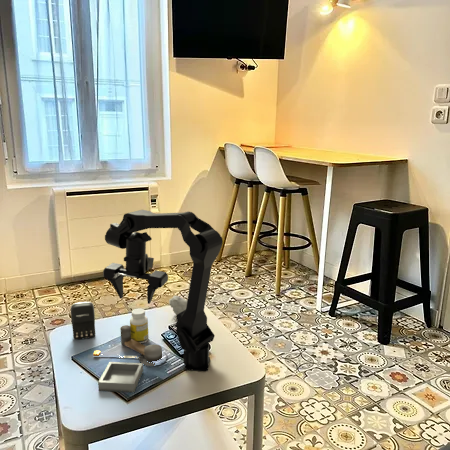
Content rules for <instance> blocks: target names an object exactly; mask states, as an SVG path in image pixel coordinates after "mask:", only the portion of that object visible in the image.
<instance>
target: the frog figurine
mask: <svg viewBox="0 0 450 450" xmlns="http://www.w3.org/2000/svg"><path fill="white" fill-rule="evenodd" d="M187 300H188V299H186V298H183V297H181V296H179V295H173V296H172V298H170V299H168V302H169V306H170V307H171V308H172V311H173V313H174V314H175V315H176V316H177V314H179V313H180V312H182V311H184V310H186V306H187Z"/></svg>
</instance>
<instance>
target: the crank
mask: <svg viewBox="0 0 450 450" xmlns="http://www.w3.org/2000/svg"><path fill="white" fill-rule="evenodd" d="M119 329H120V344H121V345H122V346H126V347H128V348H129V349H131V350H133V351H135V352H137V353H139V354H140V355H142V354H143V355H144V358H145V359H146V360H147V361H157V360H159V359H161V358H162V351H163V348H162V346H161V345H160V344H155V343H154V344H149V345H145V344H144V343H142V344H141V343H139V342H137V341H135V340H133V339H131V327H130V325H125V324H124V325H122V326H120V328H119Z"/></svg>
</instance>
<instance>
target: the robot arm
mask: <svg viewBox="0 0 450 450" xmlns="http://www.w3.org/2000/svg"><path fill="white" fill-rule="evenodd" d="M147 229H177V230H179V232H180V235H181V237H182V240H183V242H184V243H185V244H186V246H188V248H189V255H190V259H191V261H192V263H193V265H192V270H191V275H190V283H189V287H188V288H189V289H188V295H187V299H186V300H187V306H186V310H184V311H182V312H180V313H179V314H177V315H176V321H175V322H176V323H175V325H174V328H176V329H175V332H176V334H177V338H178V341H179V345H180V348H181V349H182V350H183V365H184V370H185V371H197V372H208V371H209V367H210V362H211V357H210V343H212V342H213V341H214V338H215V334H214V332H213V330H212V329H211V328H210V327H209V324H208V317H207V314H206V312H205V306H206V301H207V295H208V289H209V283H210V278H211V274H212V273H211V272H212V266H213V264H214V262H215V261H216V259H217V258H218V256H219V254H220V252H221V250H222V249H221V248H222V247H223V243H224V242H223V237H222V236H221V234H220V233H219V231H217V230H216V229H214V227H212V226H211V224H209V223H208V222H206V221H204V220H202V219H201V218H199V217H198V216H197V215H196V214H195V213H194V212H192V211H189V210H188V211H185V212H163V213H157V212H152V211H151V210H145V209H139V210H134V211H131V212H126V213H124V214H123V217H122V220H121V221H120V223H118V222H113V223H110V224H109V228H108V229H107V230H106V232H105V234H104V240H105V242H106V243H107V244H108V245H109V246H110V245H111V246H113V247H115V248H118V249H121V250H124V249H125V256H124V257H123V262H125V266H124V265H123V264H122V263H115V262H112V263H110V264H109V265H107V266H105V267H104V269H103V270H102V278H104V279H106V280H107V281H108V282H109V283H110V284H111V285H112V287H113V288H114V290H115V292H116V293H117V295H118V297H119V298H120V299H123V298H124V277H130V278H134V279H140V280H146V281H147V284H148V285H147V287H146V290H147V291H146V293H147V294H146V297H147V299H146V300H147V304H148V305H150V304H151V302H152V300H153V298H154V294H155V292H156V291H157V290H158V289H159V288H162V287H163V286H164V285H165V284H166V283H168V280H169V275H168V273H167V272H166V271H160V270H154V271H153V272H152V273H147V272H148V271H149V270H150V269H152V268H153V265H154V261H155V258H154V257H152V256H151V257H150V256H149V255H148V253H147V242H150V241H152V237H151V236H150V235H149V234H148V233H147V232H146V231H145V232H140V231H144V230H147ZM192 229H193V231H196V232H198V233H196V234H194V233H193V231H192Z"/></svg>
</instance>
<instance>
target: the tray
mask: <svg viewBox="0 0 450 450" xmlns="http://www.w3.org/2000/svg"><path fill="white" fill-rule="evenodd" d="M142 372H143V373H144V365H143V363H140V362H124V361H123V362H122V361H109V362H108V364H107V366H106V367H105V370H104V371H103V373H102V374H101V377H100V378H99V379H98V381H97V383H98V384H97V385H98V388H97V389H98V392H111V393H112V392H113V393H114V392H115V393H117V392H118V391H119V392H118V393H133V392H134V393H135V392H136V390H137V388H138V385H139V383H140V380H141V378H140V377H142V376H141V375H143V373H142ZM139 379H140V380H139ZM138 382H139V383H138ZM136 387H137V388H136ZM122 391H123V392H122Z"/></svg>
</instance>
